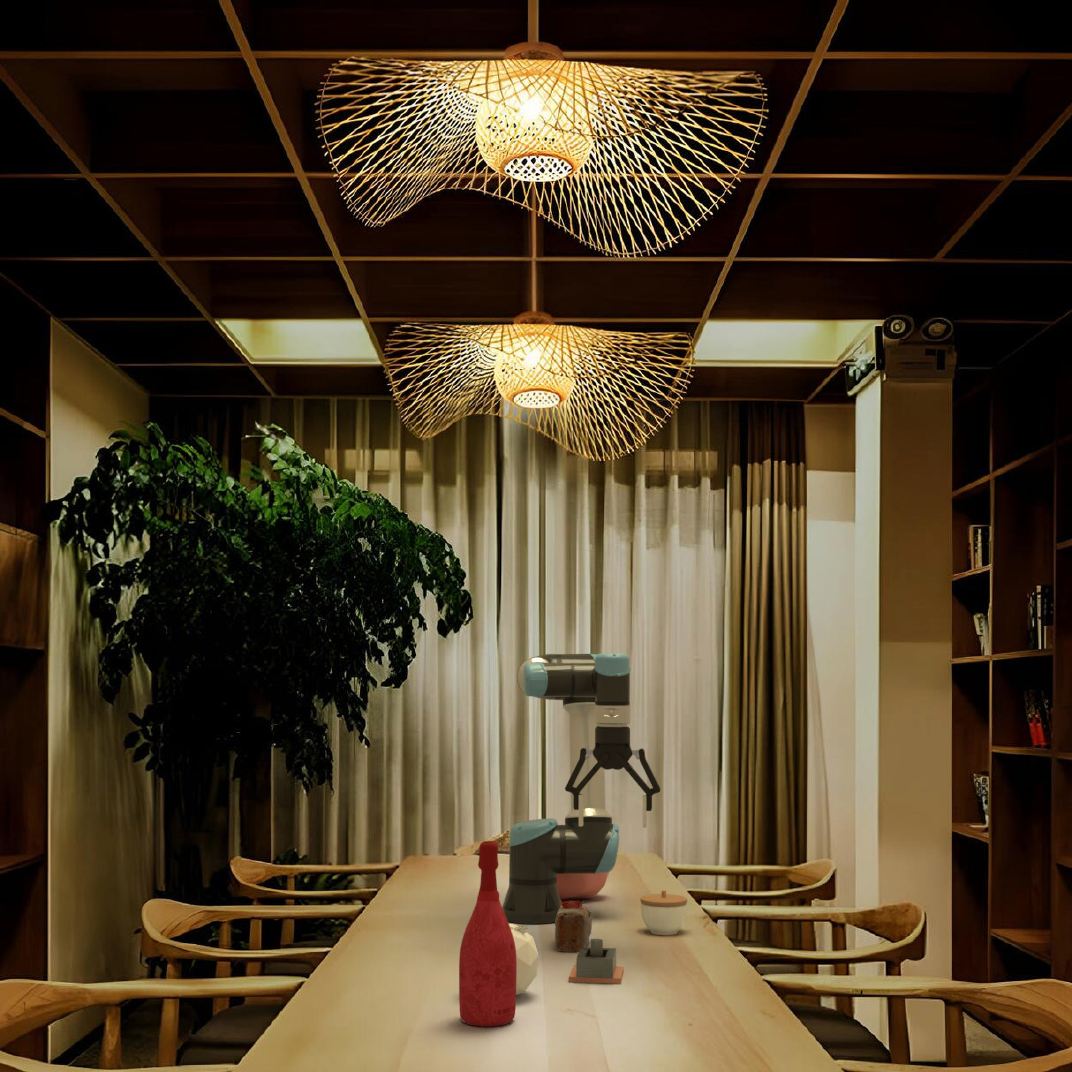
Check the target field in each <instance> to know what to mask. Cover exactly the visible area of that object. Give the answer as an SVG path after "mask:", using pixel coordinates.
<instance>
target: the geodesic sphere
mask: <svg viewBox="0 0 1072 1072" xmlns="http://www.w3.org/2000/svg"><path fill="white" fill-rule="evenodd" d="M509 926H510V928H511V931H512V935H513V938H514V942H515V947H516V961H517V975H516V996H517V995H520V994H523V993H525V992H526V991H527V989H528V988H529V986H530V985H531V984H532V982H533V981H534V980H535V979H536V977H537V975H538V966H539V952H538V949H537V946H536V942H535V939H534V936H532V935H531V934H530V933H529V932H527V931H528V929H529V928H528V927H527V926H524V925H523V926H521V925H519V926H518V925H517V924H515V923H514V924H513V923H509Z"/></svg>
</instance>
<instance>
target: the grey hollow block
mask: <svg viewBox="0 0 1072 1072" xmlns="http://www.w3.org/2000/svg"><path fill="white" fill-rule="evenodd" d="M575 961H576V964H575V965H576V977H587V978H613V976H614V972H615V969H616V966H617V948H616V947H615V948H614V947H609V948H608V947H603V957H591V947H589V946H588V947H581V949H580V951H579V953H578V952H577V957H576V959H575Z"/></svg>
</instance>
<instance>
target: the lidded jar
mask: <svg viewBox="0 0 1072 1072" xmlns="http://www.w3.org/2000/svg"><path fill="white" fill-rule="evenodd" d="M687 905H688V898H687V897H685V896H683V895H680V894H679V895H678V894H670V893H667V890H665V889H664V890H662V889H661V893H654V894H652V893H651V894H646V895H642V896H641V897H640V910H641V911H640V912H641V917H642V921H643V923H644V925H645V926H646V928H647V929H648V930H649V931H650V933H651V934H653V935H657V936H658V935H659V936H673V935H676V934H678V932H679V931H680V929H682V928H683V926H684V924H685V922H686V919H687V913H688V912H687V911H688V910H687V908H688V907H687Z"/></svg>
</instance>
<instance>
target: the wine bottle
mask: <svg viewBox="0 0 1072 1072" xmlns="http://www.w3.org/2000/svg"><path fill="white" fill-rule="evenodd" d="M478 848H479V849H478V850H479V853H478V854H479V855H478V863H477V867H478V868H479V869H480V882H479V883H480V884H479V889H478V895H477V897H476V903H475V905H474V909H473V910H472V913H471V915H470V918H469V920H468V922H467V924H466V927H465V929H464V930H465V931H464V932H463V936H462V938H461V939H462V940H461V943H460V949H459V959H458V960H459V962H458V978H459V979H458V995H459V996H458V998H459V999H458V1000H459V1017H460V1019H461V1021H462V1022H464V1023H465V1024H467V1025H471V1026H474V1027H483V1028H486V1027H487V1028H488V1027H489V1028H490V1027H499V1026H504V1025H507V1024H509V1023H511V1022H512V1021H513V1020H514V1018H515V1017H516V1008H517V1007H516V1006H517V1005H516V1003H517V995H516V975H517V961H516V947H515V942H514V938H513V935H512V931H511V928H510V926H509V924H510V922H509V921H507V918H506V916H505V914H504V911H503V909H502V907H503V905H502V904H501V901H500V892H499V891H498V883H497V882H498V881H497V870H498V867H499V858H498V857H499V856H498V854H499V852H498V851H499V845H498V843H497V841H492V840H485V841H482V842H481V843H480V845H479V847H478Z"/></svg>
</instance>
